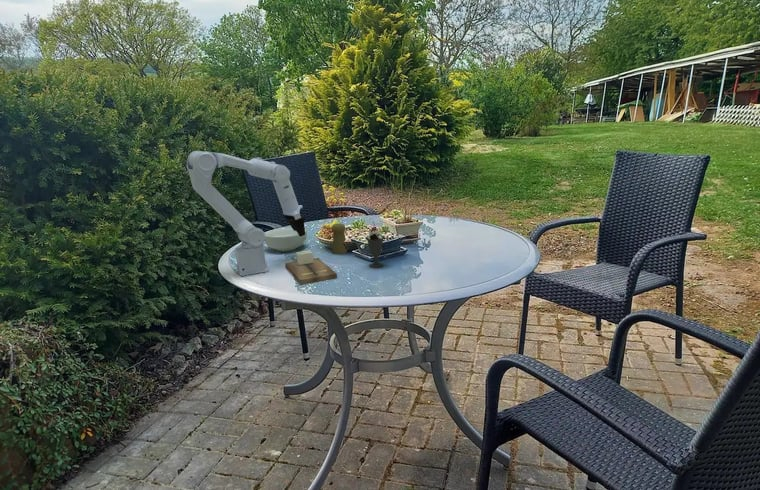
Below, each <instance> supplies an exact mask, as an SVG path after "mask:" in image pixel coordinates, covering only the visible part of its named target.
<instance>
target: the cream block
mask: <svg viewBox="0 0 760 490" xmlns="http://www.w3.org/2000/svg"><path fill="white" fill-rule="evenodd" d="M313 255H314V254H313V252H312V250H311V249H309V250H302V251H297V252H295V258H296V261H297V264H298V265H303V264H309V263H313V259H314V257H313Z"/></svg>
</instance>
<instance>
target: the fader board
mask: <svg viewBox="0 0 760 490" xmlns="http://www.w3.org/2000/svg"><path fill="white" fill-rule="evenodd" d="M284 264H285V268H286V269H287V271H288V272H289V273H290V275H292V277H293V278H294V279H295V280H296V282H298V284H299V285H300V286H301V285H306V284H312V283H318V282H323V281H328V280H334V279H338V274H337V272H336V271H334V270H333V269H332V268H331V267H330V266H329V265H328V264H326V263H325V262H324V261H323V260H322V259H320V258H319V257H316V258H314V257H313V263H309V264H303V265H298V264H297V260H296V261H291V262H285V263H284Z"/></svg>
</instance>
